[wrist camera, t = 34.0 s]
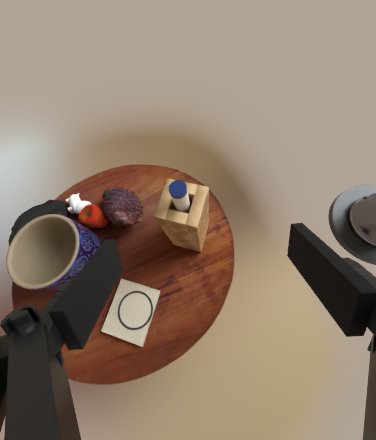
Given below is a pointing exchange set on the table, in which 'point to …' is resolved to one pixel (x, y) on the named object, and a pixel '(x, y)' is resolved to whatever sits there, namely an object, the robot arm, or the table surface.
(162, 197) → the pen block
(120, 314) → the drawing board
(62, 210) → the rock
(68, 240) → the planter
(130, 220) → the pine cone
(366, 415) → the robot arm
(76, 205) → the toy creature
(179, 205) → the marker
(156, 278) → the table surface
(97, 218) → the apple
